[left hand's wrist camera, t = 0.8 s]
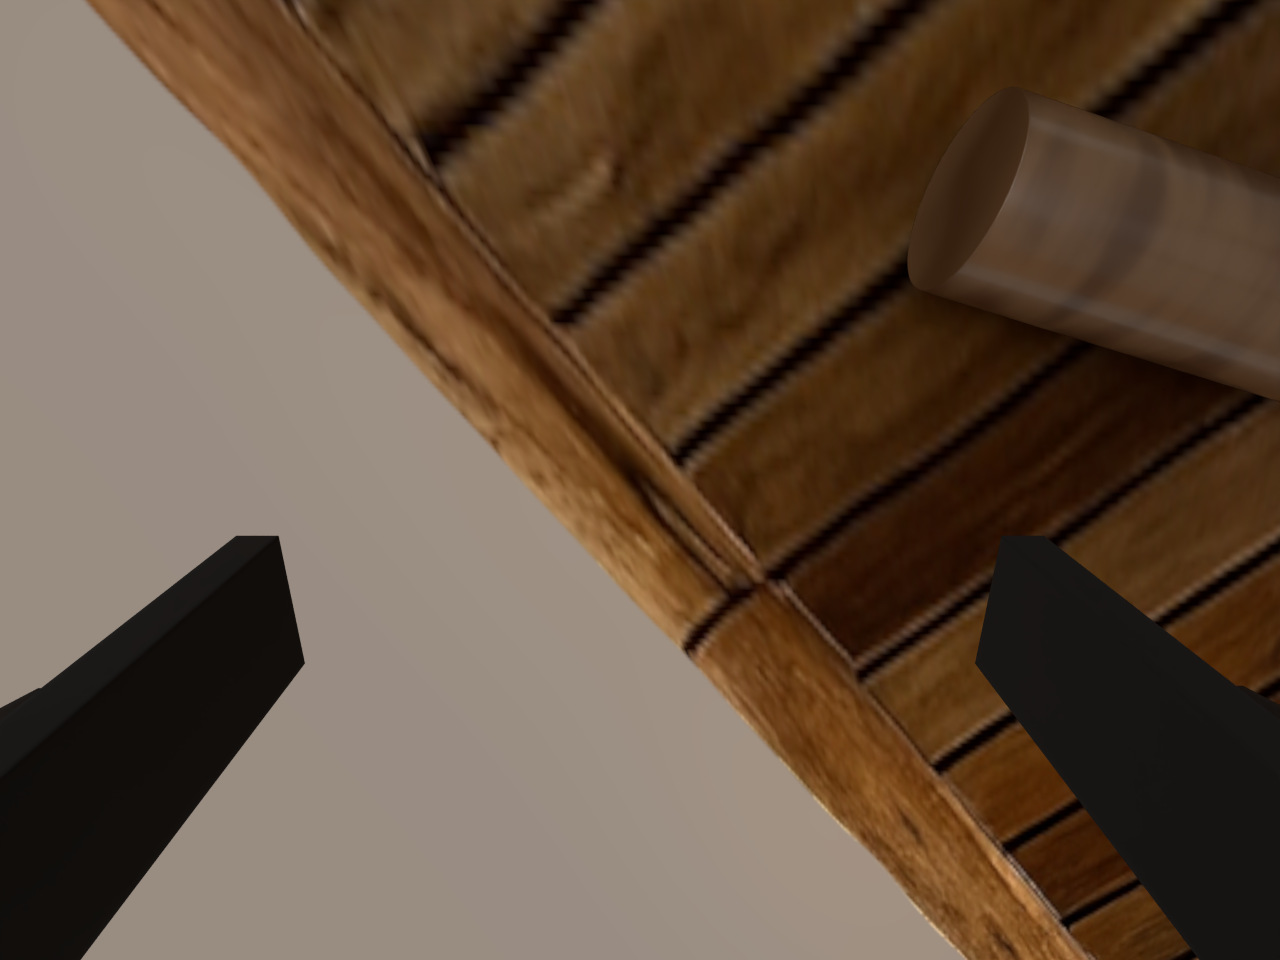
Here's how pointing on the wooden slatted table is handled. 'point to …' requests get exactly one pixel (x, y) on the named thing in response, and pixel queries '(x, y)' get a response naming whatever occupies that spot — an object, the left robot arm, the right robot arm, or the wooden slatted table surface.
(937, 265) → the rod
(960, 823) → the wooden slatted table surface
